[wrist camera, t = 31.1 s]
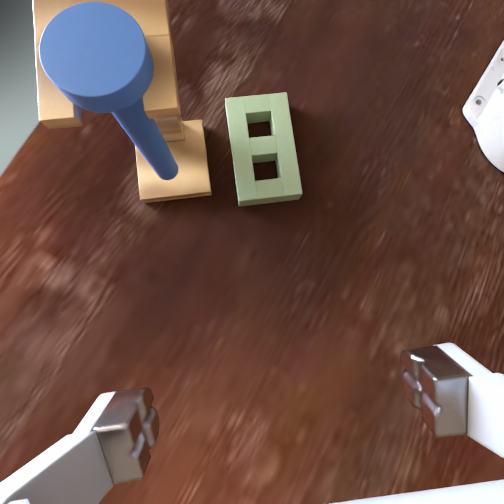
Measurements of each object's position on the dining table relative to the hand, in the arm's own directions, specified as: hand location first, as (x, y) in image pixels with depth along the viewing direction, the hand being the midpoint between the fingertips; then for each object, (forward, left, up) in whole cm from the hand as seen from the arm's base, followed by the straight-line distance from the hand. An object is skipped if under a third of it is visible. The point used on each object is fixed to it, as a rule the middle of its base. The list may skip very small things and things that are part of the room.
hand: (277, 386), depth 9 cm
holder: (-20, -6, -28) cm, 36 cm away
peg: (-12, -15, -23) cm, 30 cm away
